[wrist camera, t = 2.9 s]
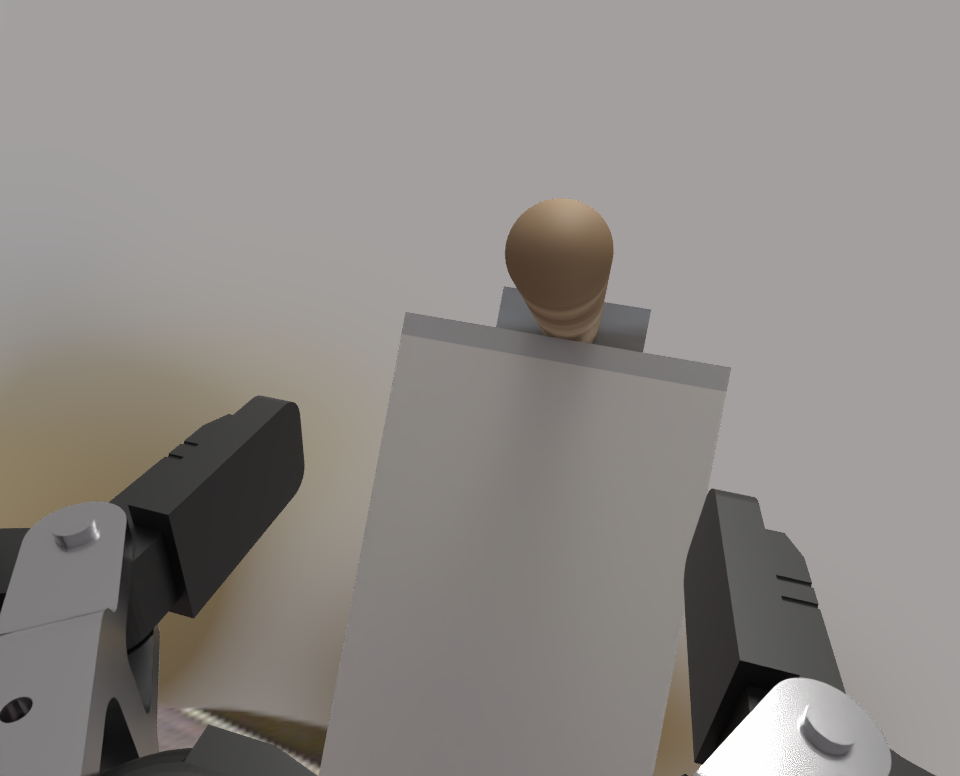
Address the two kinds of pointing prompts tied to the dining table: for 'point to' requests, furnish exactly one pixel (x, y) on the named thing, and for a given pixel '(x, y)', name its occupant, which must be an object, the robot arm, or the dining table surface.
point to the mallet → (566, 279)
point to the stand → (523, 557)
